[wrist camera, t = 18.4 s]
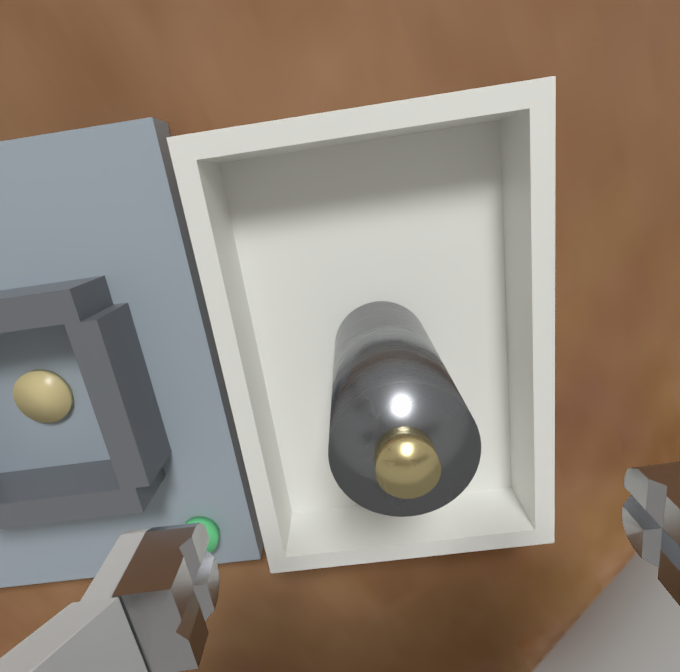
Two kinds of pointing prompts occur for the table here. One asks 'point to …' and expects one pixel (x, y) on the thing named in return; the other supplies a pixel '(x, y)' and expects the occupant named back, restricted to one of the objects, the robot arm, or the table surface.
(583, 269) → the table surface
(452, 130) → the tray
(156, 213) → the tester cradle
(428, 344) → the cell
